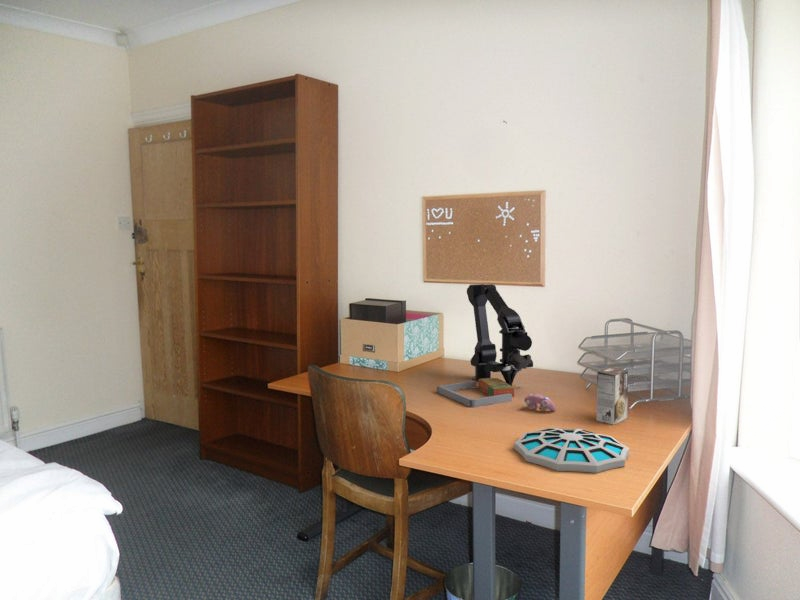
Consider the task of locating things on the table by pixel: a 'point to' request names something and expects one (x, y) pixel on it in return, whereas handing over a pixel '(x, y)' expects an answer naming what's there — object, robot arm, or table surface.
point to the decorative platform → (572, 450)
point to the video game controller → (539, 402)
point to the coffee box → (612, 395)
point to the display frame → (449, 392)
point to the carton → (495, 386)
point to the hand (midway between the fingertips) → (509, 386)
